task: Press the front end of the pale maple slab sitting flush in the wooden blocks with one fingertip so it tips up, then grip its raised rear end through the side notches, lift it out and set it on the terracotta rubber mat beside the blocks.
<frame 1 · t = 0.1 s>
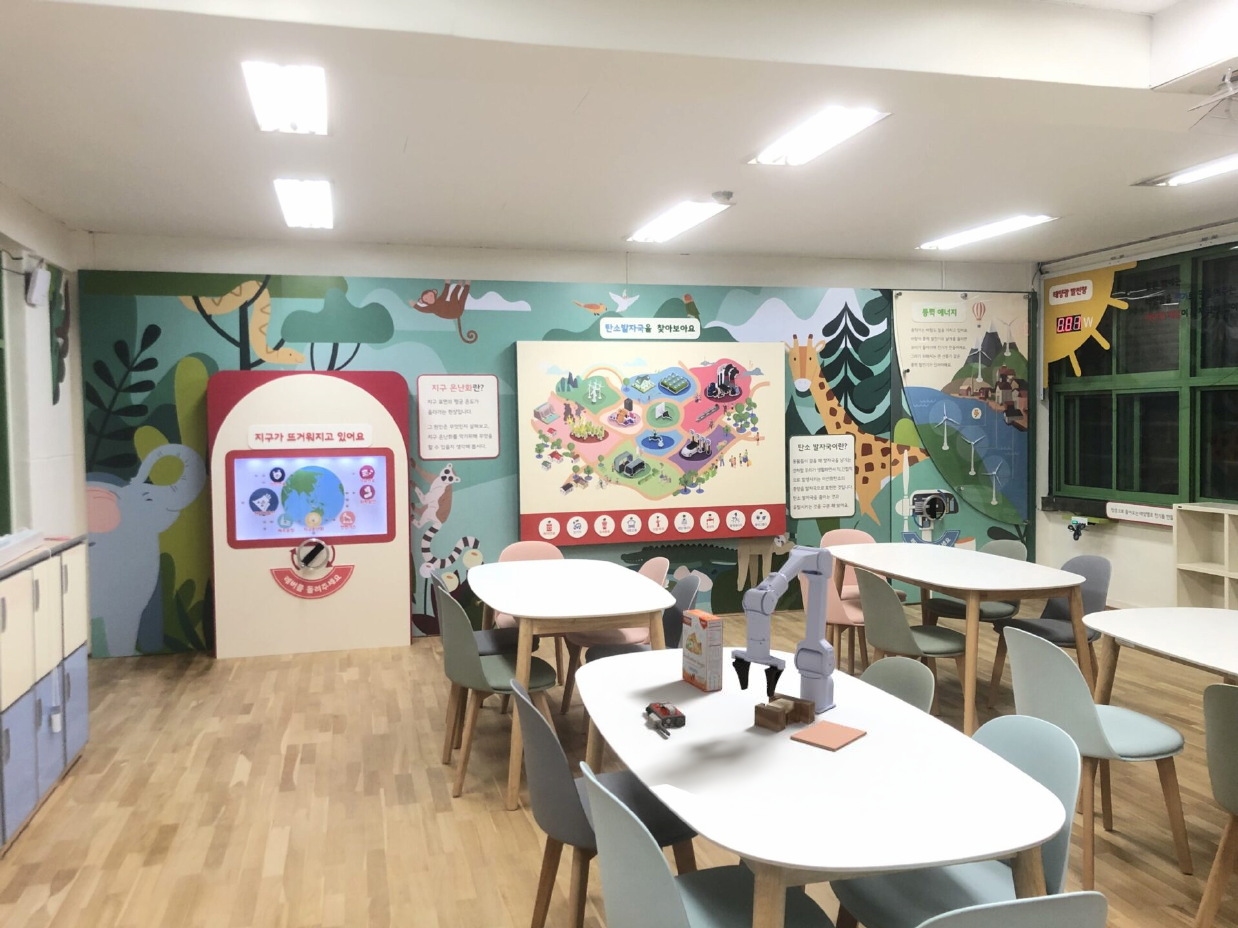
hand: (757, 692, 215), 10 cm above the table, tool pointing down, fingers open, 7 cm apart
slab: (780, 710, 222), point 3 cm above the table, touching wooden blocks
mat: (828, 736, 213), on the table
cracker box: (701, 685, 254), on the table
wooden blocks: (779, 722, 222), on the table
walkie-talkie: (667, 725, 220), on the table
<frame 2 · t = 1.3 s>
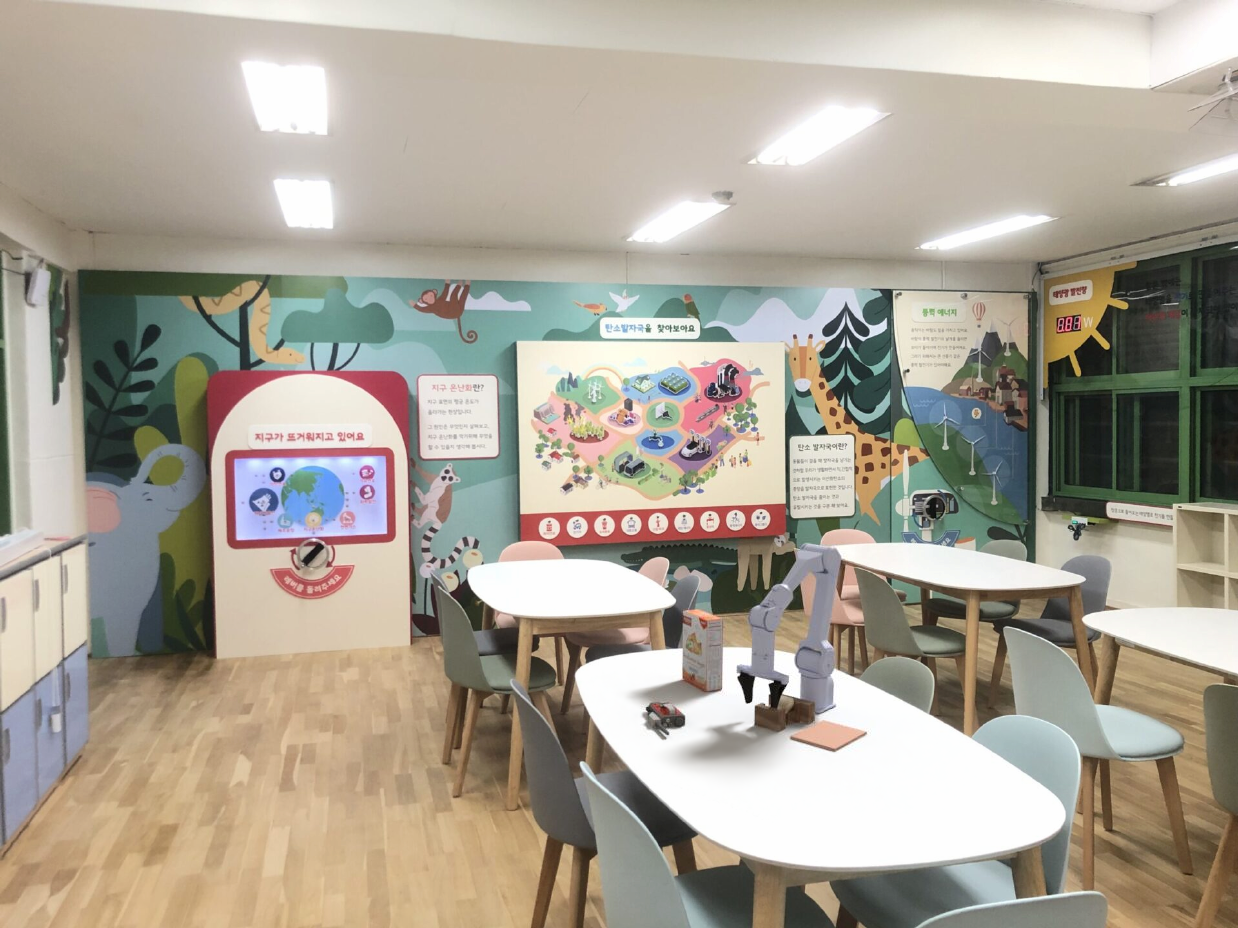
hand: (761, 706, 222), 4 cm above the table, tool pointing down, fingers open, 7 cm apart
slab: (780, 710, 222), point 3 cm above the table, tilted 18°, touching gripper, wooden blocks
everything else where it was.
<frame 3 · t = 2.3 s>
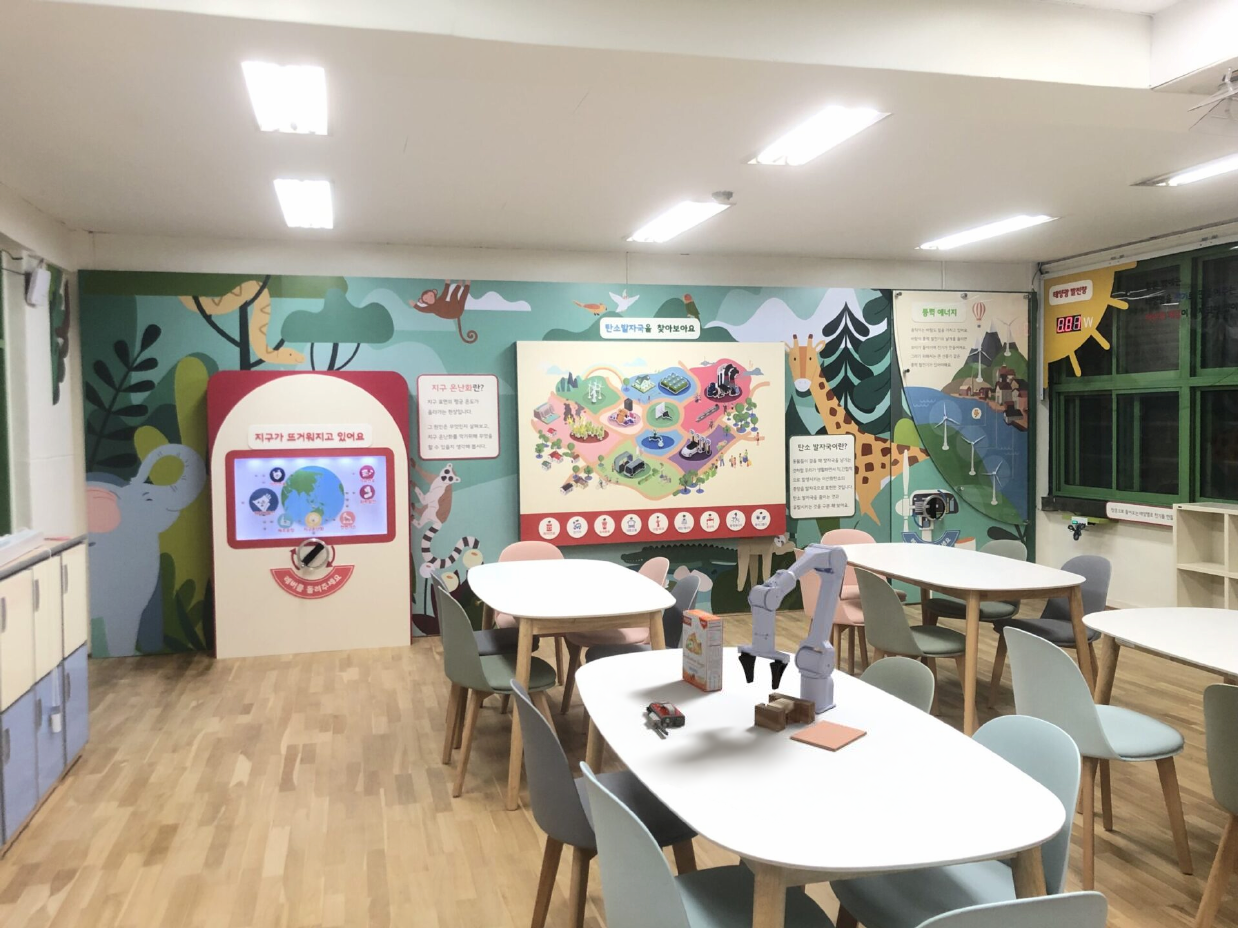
hand: (762, 685, 222), 9 cm above the table, tool pointing down, fingers open, 7 cm apart
slab: (780, 710, 222), point 3 cm above the table, touching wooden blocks
everything else where it was.
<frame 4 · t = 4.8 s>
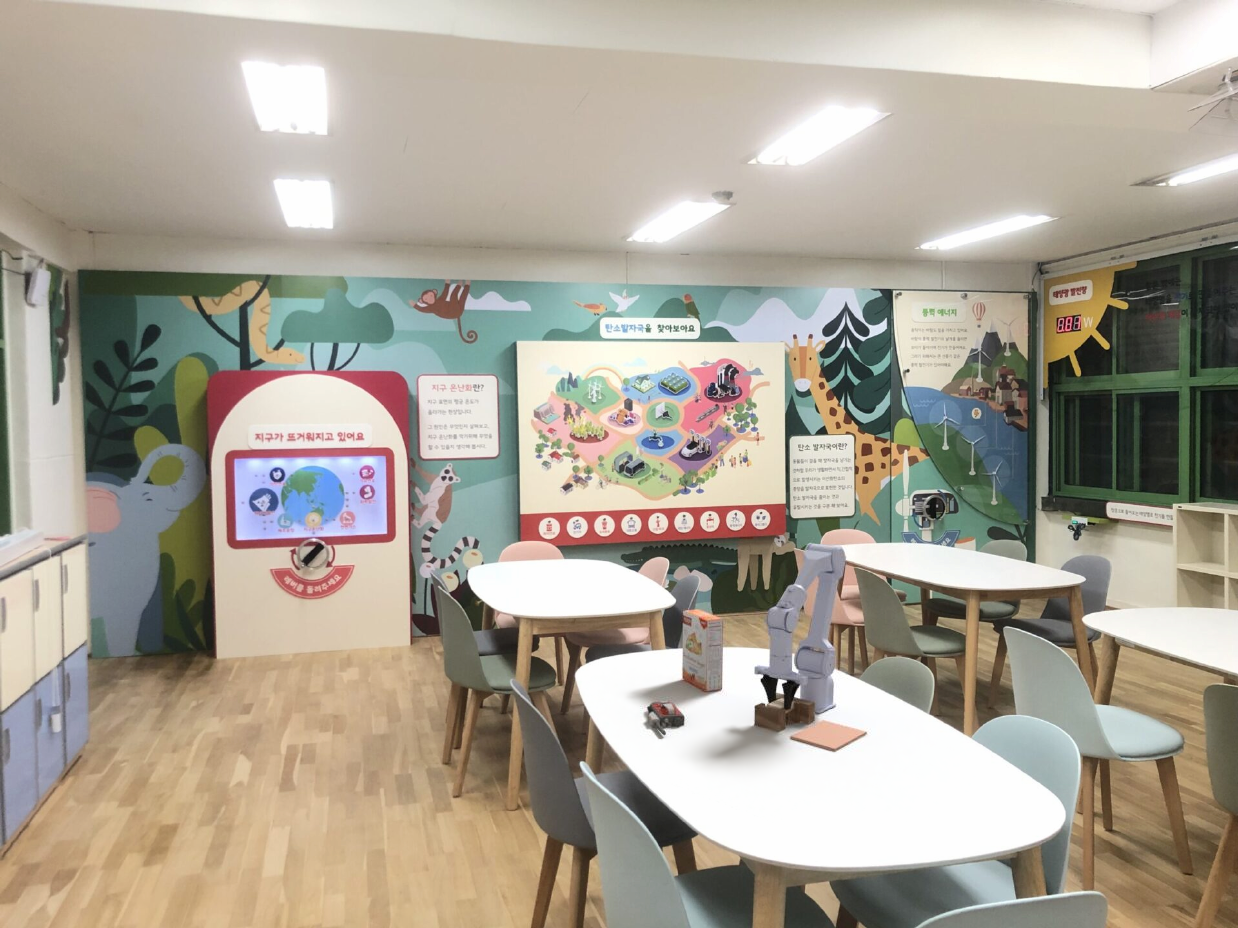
hand: (779, 706, 222), 4 cm above the table, tool pointing down, fingers closed on slab, 4 cm apart
slab: (780, 710, 222), point 3 cm above the table, touching gripper, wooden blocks
everything else where it was.
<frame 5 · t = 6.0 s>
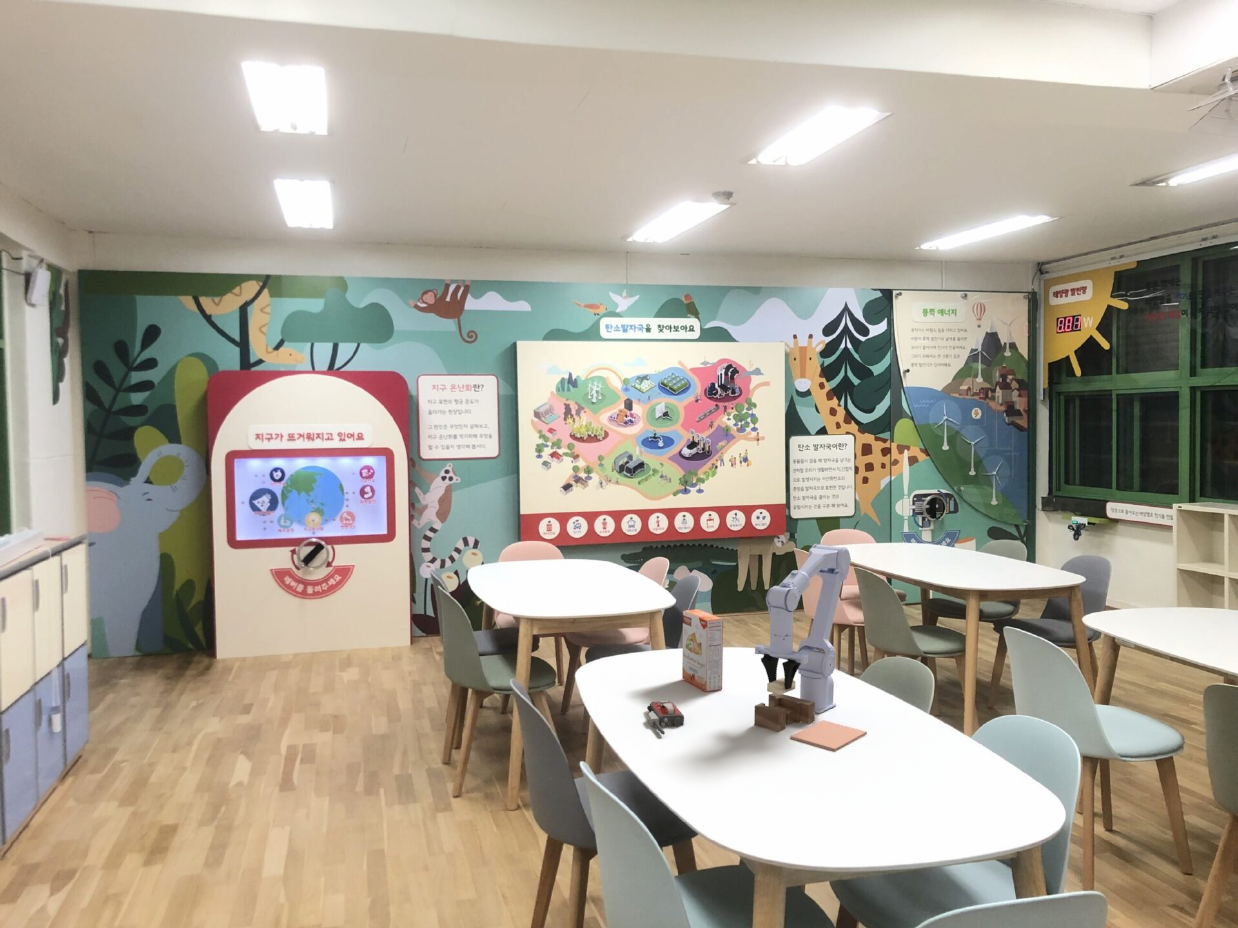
hand: (780, 686, 222), 9 cm above the table, tool pointing down, fingers closed on slab, 4 cm apart
slab: (781, 689, 222), point 8 cm above the table, touching gripper
everything else where it was.
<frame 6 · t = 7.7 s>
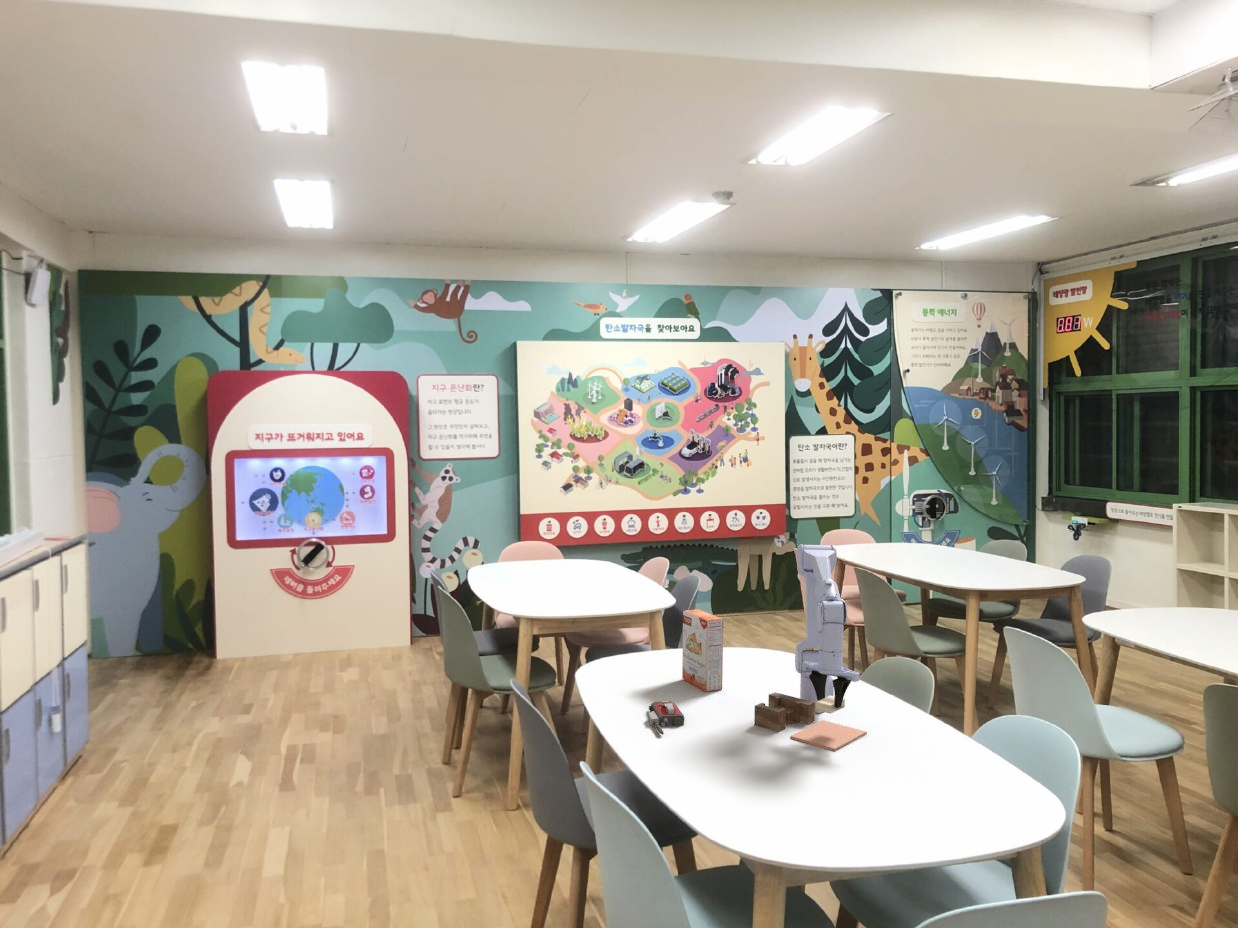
hand: (829, 704, 212), 8 cm above the table, tool pointing down, fingers closed on slab, 4 cm apart
slab: (830, 708, 213), point 7 cm above the table, touching gripper
everything else where it was.
when the fingers open (6 cm above the table, at t = 8.8 s): slab drops 4 cm, resting on mat.
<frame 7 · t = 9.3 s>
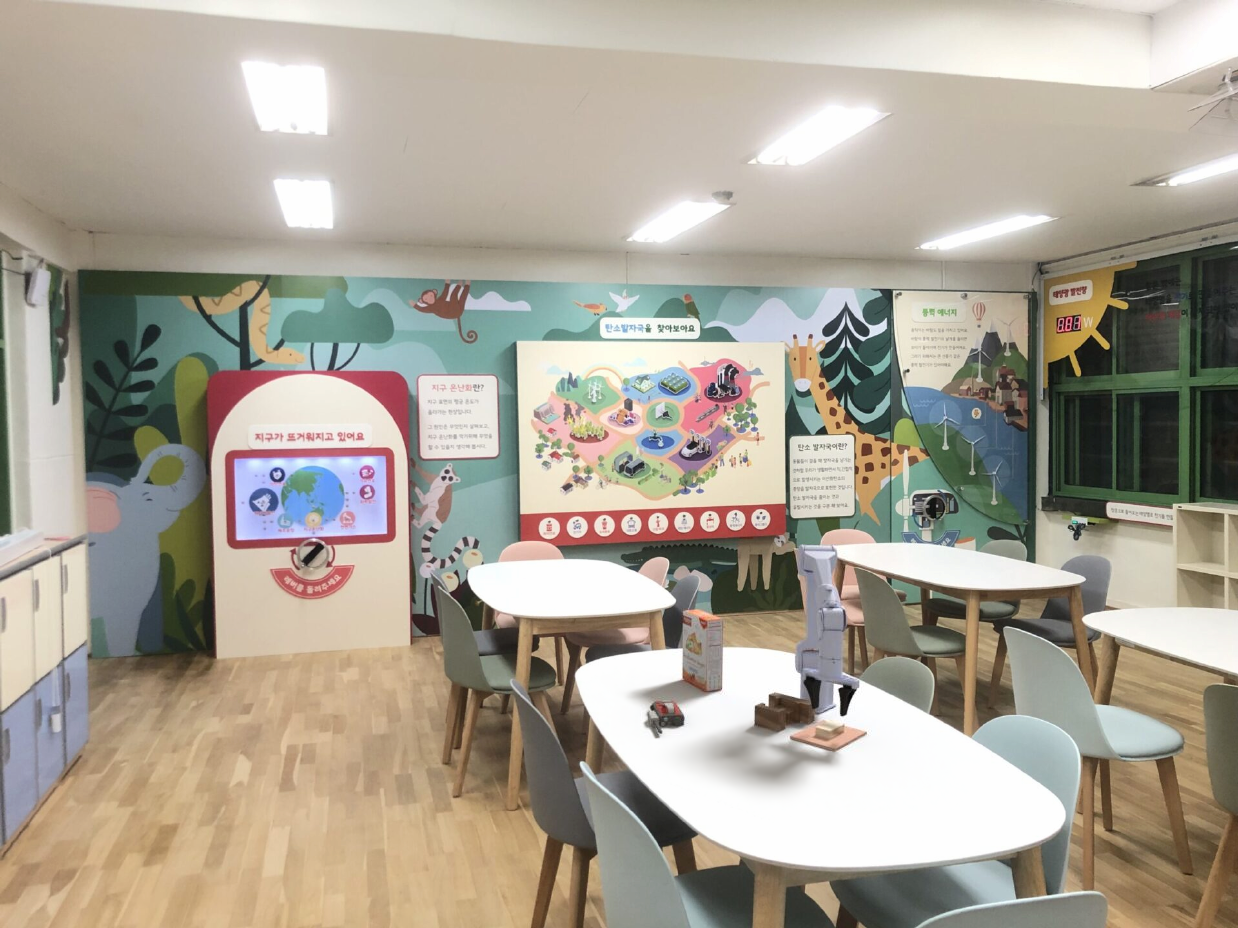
hand: (829, 711, 213), 6 cm above the table, tool pointing down, fingers open, 7 cm apart
slab: (829, 733, 213), point 1 cm above the table, touching mat
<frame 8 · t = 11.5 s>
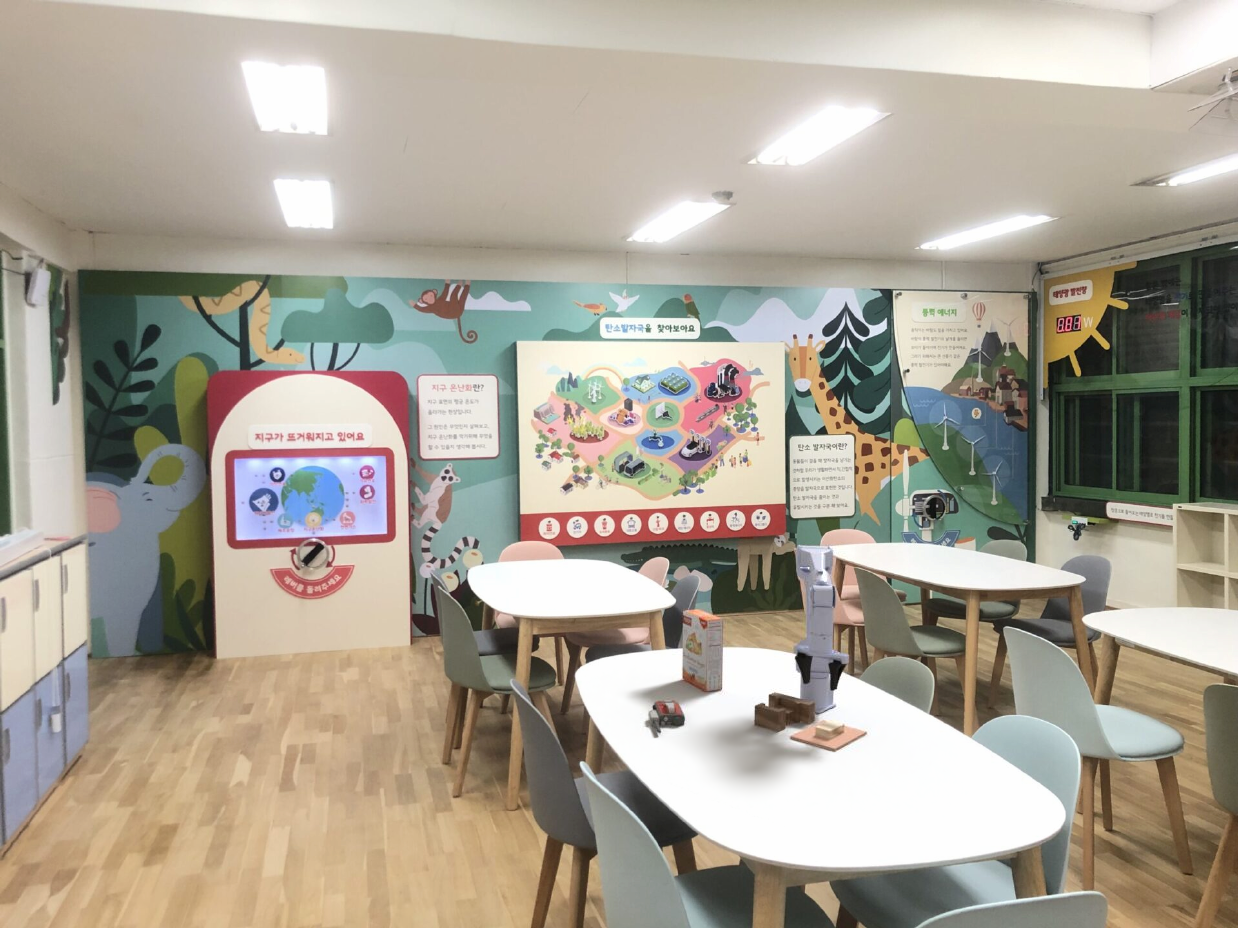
hand: (819, 686, 219), 10 cm above the table, tool pointing down, fingers open, 7 cm apart
at the end: slab inside the target area on the mat (0.3 cm from its centre), point 0.6 cm above the mat's base; the gripper is holding nothing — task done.
